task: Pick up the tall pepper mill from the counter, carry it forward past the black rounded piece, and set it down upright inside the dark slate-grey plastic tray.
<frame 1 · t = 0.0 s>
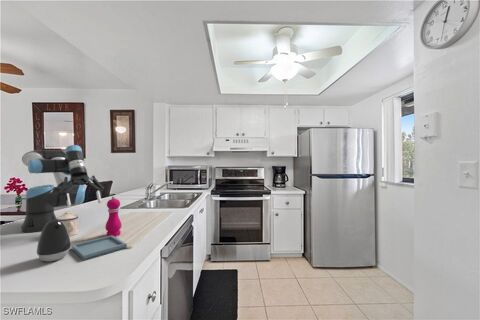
hand: (85, 204, 116), 15 cm above the counter, tool tilted 35°, fingers open, 13 cm apart
tray: (99, 248, 97), on the counter
pepper mill: (113, 235, 115), on the counter
black rounded piece: (54, 259, 88), on the counter
teacup with lid: (68, 235, 114), on the counter
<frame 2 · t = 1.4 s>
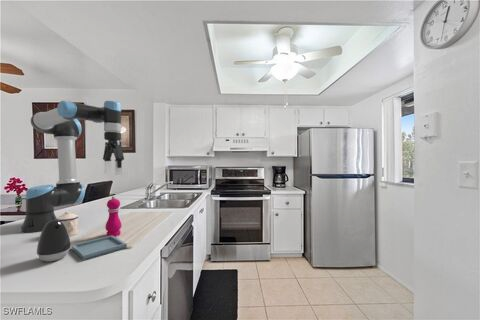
hand: (113, 174, 114), 31 cm above the counter, tool pointing down, fingers open, 13 cm apart
nothing on the counter moved.
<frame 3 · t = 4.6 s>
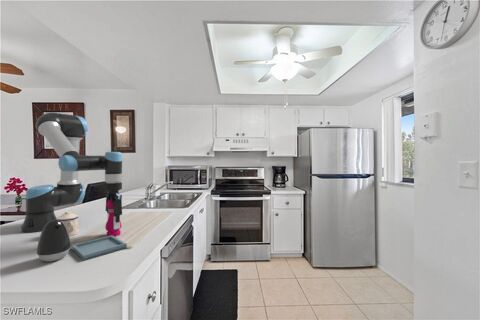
hand: (113, 227, 115), 4 cm above the counter, tool pointing down, fingers closed on pepper mill, 7 cm apart
pepper mill: (113, 235, 115), on the counter, touching gripper
everything else where it was.
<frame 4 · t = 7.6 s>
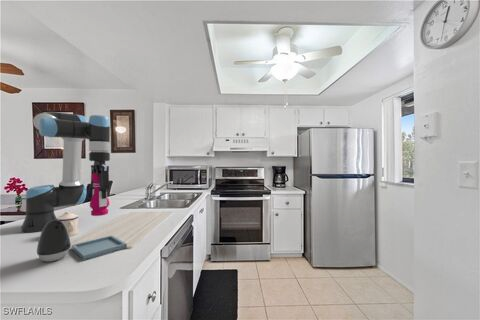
hand: (99, 204, 97), 19 cm above the counter, tool pointing down, fingers closed on pepper mill, 7 cm apart
pepper mill: (99, 214, 97), point 15 cm above the counter, touching gripper
everything else where it was.
when the fingers open (6 cm above the counter, at t = 10.9 s): pepper mill stays where it is, resting on tray.
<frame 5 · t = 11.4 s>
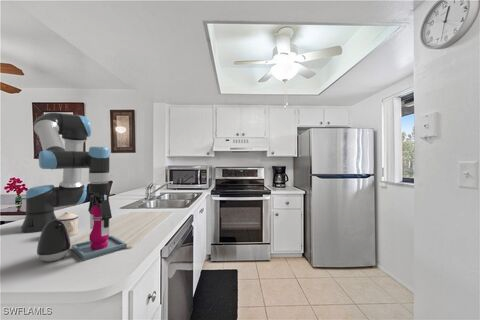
hand: (99, 231, 97), 7 cm above the counter, tool pointing down, fingers open, 13 cm apart
pepper mill: (99, 247, 97), point 1 cm above the counter, touching tray
everything else where it was.
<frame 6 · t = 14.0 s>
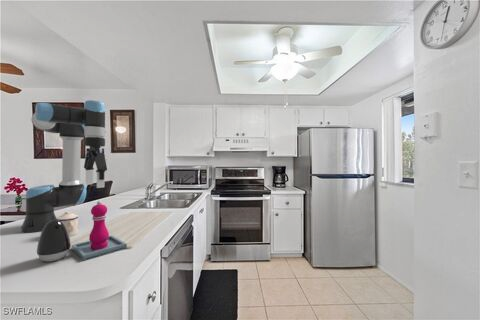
hand: (94, 185, 98), 27 cm above the counter, tool pointing down, fingers open, 13 cm apart
nothing on the counter moved.
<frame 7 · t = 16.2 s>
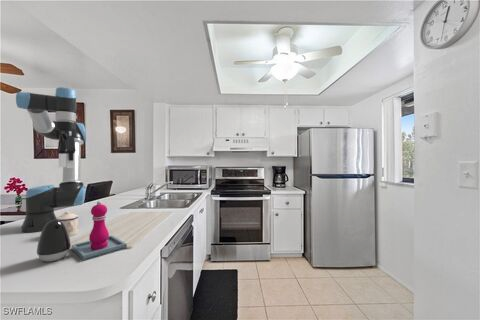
hand: (66, 167, 105), 35 cm above the counter, tool pointing down, fingers open, 13 cm apart
nothing on the counter moved.
at the end: pepper mill inside the target area on the tray (0.2 cm from its centre), point 0.6 cm above the tray's base; pepper mill tilted 0°; the gripper is holding nothing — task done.
